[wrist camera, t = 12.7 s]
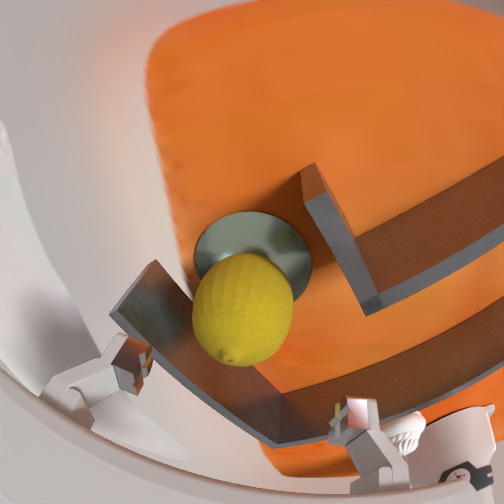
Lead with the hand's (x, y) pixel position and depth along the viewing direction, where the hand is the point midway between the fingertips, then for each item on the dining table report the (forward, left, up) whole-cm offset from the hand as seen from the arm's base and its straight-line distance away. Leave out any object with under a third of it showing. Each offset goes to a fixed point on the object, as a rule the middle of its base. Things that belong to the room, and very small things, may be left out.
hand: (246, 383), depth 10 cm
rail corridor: (-6, -6, -10) cm, 13 cm away
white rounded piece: (-25, -3, -10) cm, 27 cm away
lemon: (0, +1, -10) cm, 10 cm away
